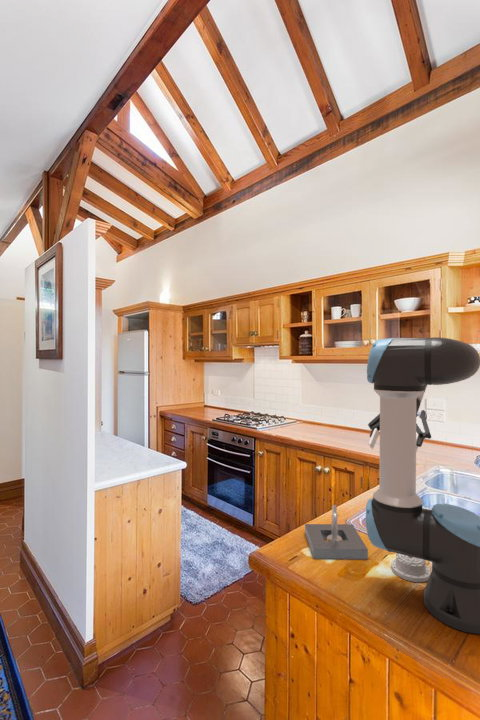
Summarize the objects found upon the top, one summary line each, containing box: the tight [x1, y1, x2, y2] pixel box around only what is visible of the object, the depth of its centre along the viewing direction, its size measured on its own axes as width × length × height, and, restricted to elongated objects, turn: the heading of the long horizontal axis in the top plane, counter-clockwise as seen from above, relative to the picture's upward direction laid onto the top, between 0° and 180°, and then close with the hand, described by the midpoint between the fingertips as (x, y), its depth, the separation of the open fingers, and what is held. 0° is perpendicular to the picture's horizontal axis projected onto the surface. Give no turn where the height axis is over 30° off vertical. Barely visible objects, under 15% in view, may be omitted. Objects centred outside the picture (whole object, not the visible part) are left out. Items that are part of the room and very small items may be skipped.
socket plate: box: [304, 523, 369, 560], centre depth 117 cm, size 16×16×3 cm
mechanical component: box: [390, 553, 432, 583], centre depth 102 cm, size 10×4×10 cm
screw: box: [326, 504, 343, 542], centre depth 117 cm, size 13×5×5 cm
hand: (390, 450), depth 119 cm, fingers open, 13 cm apart
